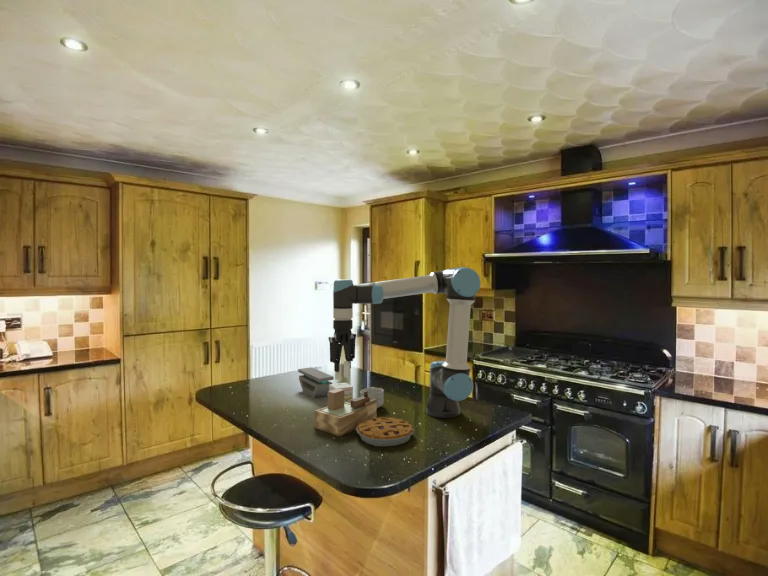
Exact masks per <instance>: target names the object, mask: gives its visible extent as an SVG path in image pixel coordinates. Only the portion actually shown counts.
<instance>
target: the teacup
mask: <svg viewBox="0 0 768 576" xmlns="http://www.w3.org/2000/svg"><path fill="white" fill-rule="evenodd" d="M364 391H368V396H370V400H373V399H377V409H379V408H380V407H381V406H383V405H384V401H385V400H384V392H385V390H384V389H383V388H380V387H375V386H372V387H366V388H364V389H361V390H360V391H359V393H360V397H362V396H364Z"/></svg>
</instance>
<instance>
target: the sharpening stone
mask: <svg viewBox="0 0 768 576" xmlns="http://www.w3.org/2000/svg"><path fill="white" fill-rule="evenodd" d="M297 372H298V373H299V374H301V375H298V381H299V383H300V387H301V389H302V392H303V393H304V394H305V395H308V396H309V397H311V398H312V399H313V398H319V397H324V396H328V391H329V384H333V382H332V381H334V380H335V376H333V375H331V374H328V373H326V372H324V371H321V370H318V369H317V368H315V367H312V366H311V367H303V368H298V369H297Z"/></svg>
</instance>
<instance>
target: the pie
mask: <svg viewBox="0 0 768 576" xmlns="http://www.w3.org/2000/svg"><path fill="white" fill-rule="evenodd" d="M355 431H356V433H357V435H359V437H360V439H361V441H363V442H365V443H366V444H367V445H371V446H375V447H392V446H394V447H395V446H398V445H402V444H406V442H408V441H410V439H411V436H412V435H413V434H414V431H415V429H414V427H413V425H412V424H411V423H410V422H409V421H404V419H402V418H395V416H390V417H386V416H379V417H376V418H370V420H363V421H362V423H358V426H357V428H356V430H355Z"/></svg>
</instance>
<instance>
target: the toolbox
mask: <svg viewBox="0 0 768 576" xmlns="http://www.w3.org/2000/svg"><path fill="white" fill-rule="evenodd" d="M344 403H345V404H348V405H351V403H347V402H344ZM326 408H328V405H327V406H324V407H322V408H318V409H315V410H314V429H316V430H320V431H323V432H326V433H328V434H331V435H334V436H338V437H342V436H344V435H347V434H349V433H351V432H354V431H357V430H356V428H357V426H358V423H362V421H363V420H370V418H377V413H378V412H377V409H378V408H377V399H373V400H370V401H368V402H365V403H364V406H362V407H360V408H362V409H360V410H357V411H355V412H352V413H349V414H347V415H344V416H341V417H338V416H335V415H332V414H328V413H325V412H322V411H321V410H324V409H326Z"/></svg>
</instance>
